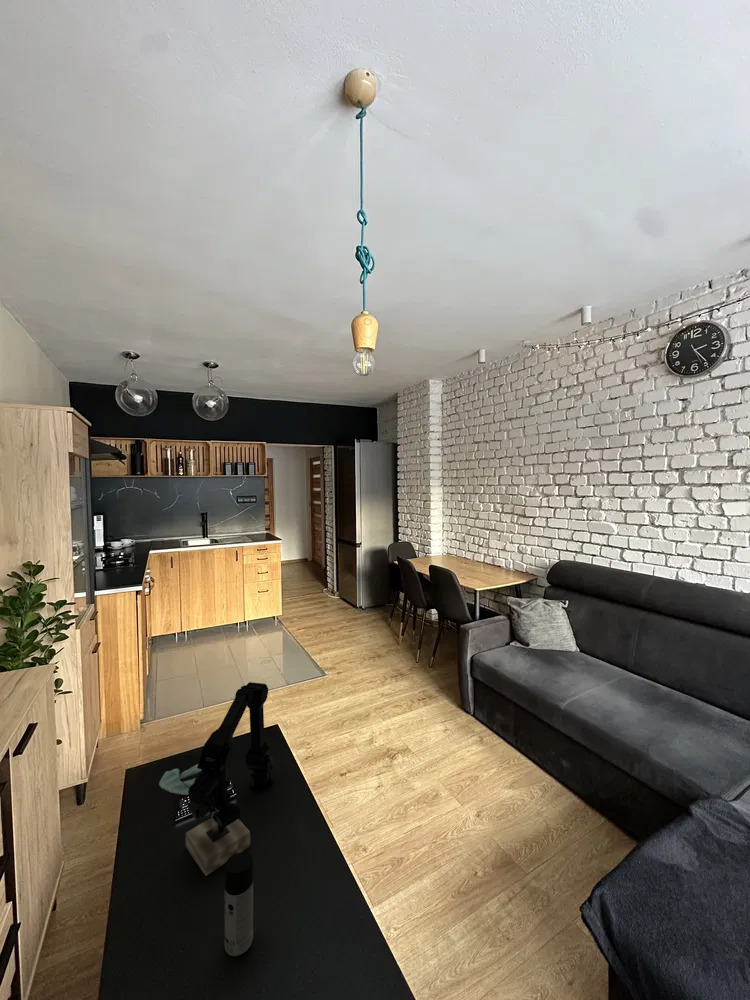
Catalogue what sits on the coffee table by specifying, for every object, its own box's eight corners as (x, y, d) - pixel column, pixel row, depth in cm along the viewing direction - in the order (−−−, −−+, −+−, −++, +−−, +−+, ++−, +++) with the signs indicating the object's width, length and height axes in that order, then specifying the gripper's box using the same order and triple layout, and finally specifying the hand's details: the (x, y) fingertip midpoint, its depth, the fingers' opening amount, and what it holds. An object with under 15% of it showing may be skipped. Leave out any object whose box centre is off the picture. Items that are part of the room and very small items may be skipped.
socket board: (228, 821, 139) (228, 807, 139) (250, 845, 129) (250, 831, 129) (185, 847, 129) (185, 832, 129) (205, 876, 119) (205, 860, 119)
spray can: (228, 929, 105) (228, 851, 104) (256, 926, 105) (255, 849, 105) (221, 958, 98) (220, 875, 98) (250, 956, 99) (250, 873, 98)
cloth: (158, 772, 163) (158, 766, 163) (218, 757, 173) (218, 752, 172) (155, 809, 145) (155, 802, 145) (222, 790, 154) (222, 783, 154)
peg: (220, 828, 131) (220, 804, 131) (226, 835, 129) (225, 810, 129) (209, 835, 129) (209, 810, 129) (215, 842, 126) (214, 816, 126)
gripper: (178, 778, 129) (179, 827, 129) (205, 810, 116) (205, 864, 117) (213, 761, 137) (214, 807, 137) (242, 789, 124) (242, 840, 125)
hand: (218, 829), depth 129 cm, fingers closed on peg, 3 cm apart
